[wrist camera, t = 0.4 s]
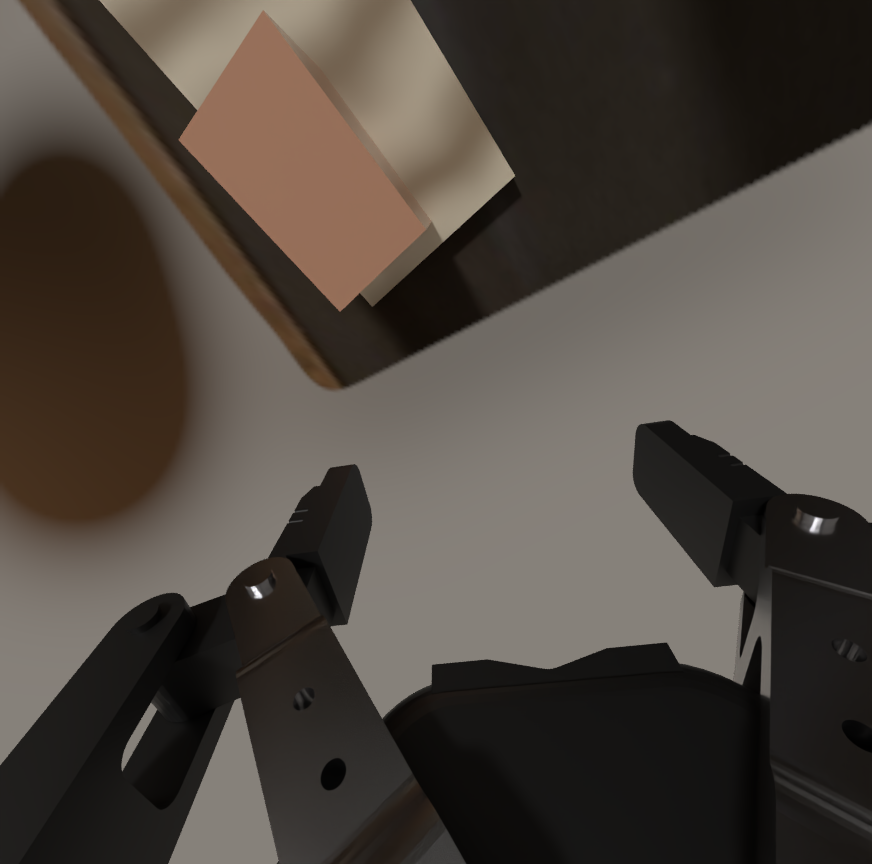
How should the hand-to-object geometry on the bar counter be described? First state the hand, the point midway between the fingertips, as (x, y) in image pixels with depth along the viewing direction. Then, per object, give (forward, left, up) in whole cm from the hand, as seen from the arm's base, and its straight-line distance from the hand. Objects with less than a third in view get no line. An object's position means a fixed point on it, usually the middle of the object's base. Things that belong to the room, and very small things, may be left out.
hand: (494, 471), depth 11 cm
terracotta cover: (-2, -11, -21) cm, 23 cm away
